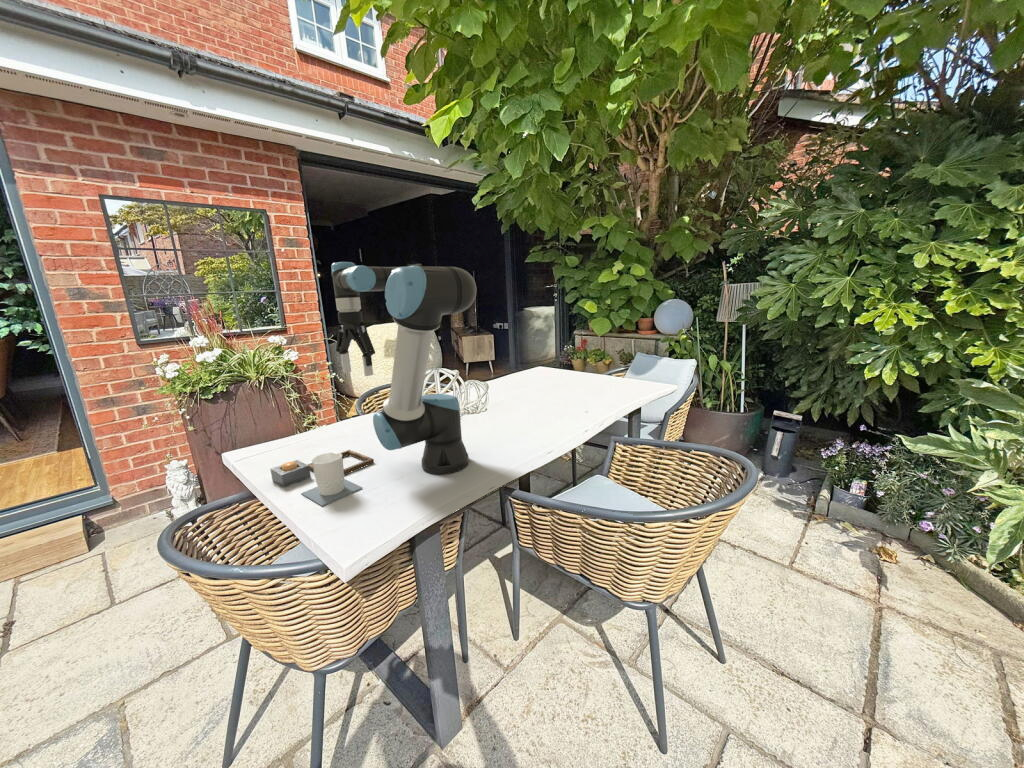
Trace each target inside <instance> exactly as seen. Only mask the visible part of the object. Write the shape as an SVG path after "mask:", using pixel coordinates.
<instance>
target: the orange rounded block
mask: <svg viewBox="0 0 1024 768" xmlns="http://www.w3.org/2000/svg"><path fill="white" fill-rule="evenodd" d="M294 461H295V460H293V461H287V462H285V463H284V462H283V464H281V465H282V470H283V471H285V472H286V471H289V470H292V469H294V468H297V463H296V462H294Z"/></svg>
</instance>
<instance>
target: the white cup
mask: <svg viewBox="0 0 1024 768" xmlns="http://www.w3.org/2000/svg"><path fill="white" fill-rule="evenodd" d="M341 453H342V452H327V453H326V452H325V453H322V454H319V455H316V456H315V457H314V458H312V460H311V463H312V465H313V470H314V472H313V474H314V478H315V482H316V485H317V487H318V490H319V493H320V494H321V495H324V496H329V495H334V494H337V493H339V492H341V491H342V490H344V487H345V485H344V479H345V475H344V469H345V468H344V462H343V461H344V460H343V458H344V457H343V458H342V454H341Z"/></svg>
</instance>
